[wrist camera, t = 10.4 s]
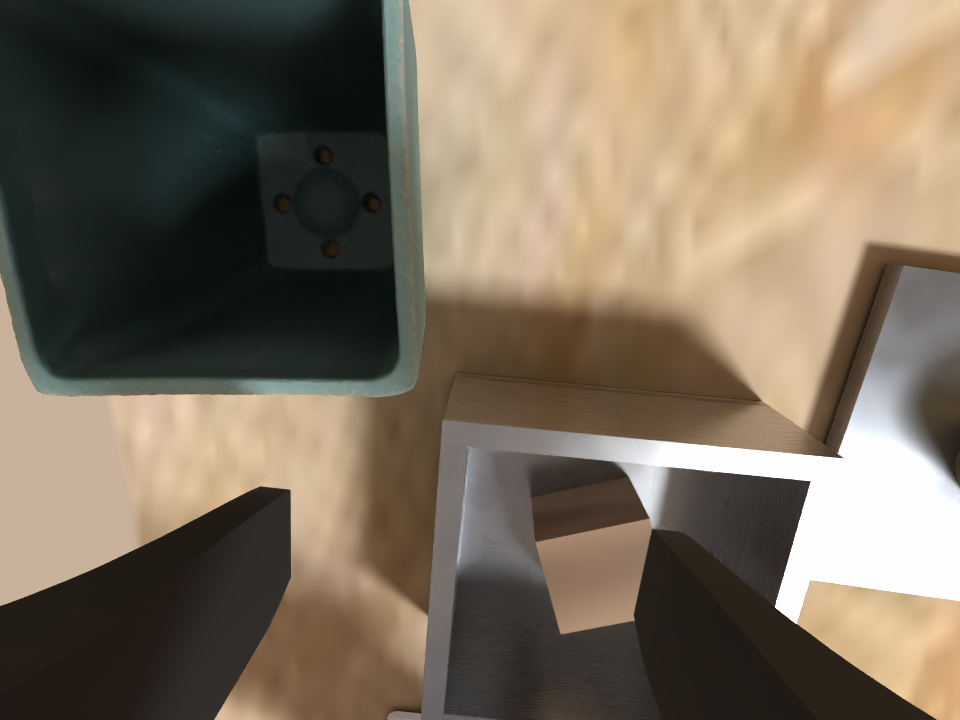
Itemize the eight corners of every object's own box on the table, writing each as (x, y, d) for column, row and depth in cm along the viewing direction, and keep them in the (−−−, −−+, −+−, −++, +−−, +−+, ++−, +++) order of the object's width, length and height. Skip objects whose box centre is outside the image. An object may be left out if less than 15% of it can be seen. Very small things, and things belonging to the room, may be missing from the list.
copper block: (646, 560, 21) (669, 613, 19) (553, 579, 22) (560, 634, 19) (628, 476, 20) (649, 518, 18) (530, 497, 21) (535, 542, 18)
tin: (701, 651, 23) (753, 764, 18) (436, 624, 23) (419, 728, 19) (762, 401, 20) (845, 459, 15) (456, 372, 20) (442, 420, 15)
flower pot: (449, 64, 17) (397, -88, 9) (455, 320, 20) (418, 399, 11) (196, 70, 18) (-93, -71, 9) (231, 321, 20) (27, 397, 11)
